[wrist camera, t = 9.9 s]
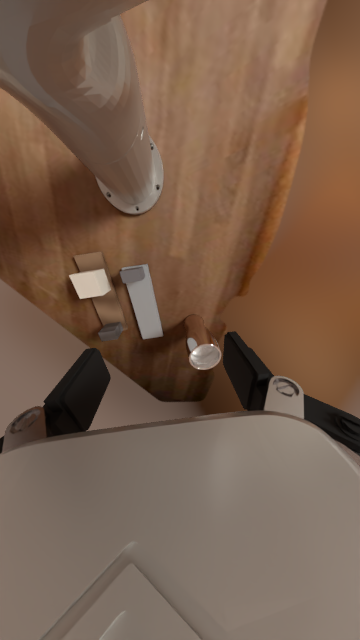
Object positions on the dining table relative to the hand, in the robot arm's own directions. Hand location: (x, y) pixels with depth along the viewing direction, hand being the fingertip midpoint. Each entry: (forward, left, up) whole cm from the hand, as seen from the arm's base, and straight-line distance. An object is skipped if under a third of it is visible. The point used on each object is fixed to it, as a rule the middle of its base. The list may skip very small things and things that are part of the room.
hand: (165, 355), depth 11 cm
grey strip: (+5, -7, -29) cm, 30 cm away
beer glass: (+13, +5, -29) cm, 32 cm away
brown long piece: (+1, -17, -29) cm, 33 cm away
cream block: (-3, -17, -28) cm, 32 cm away
